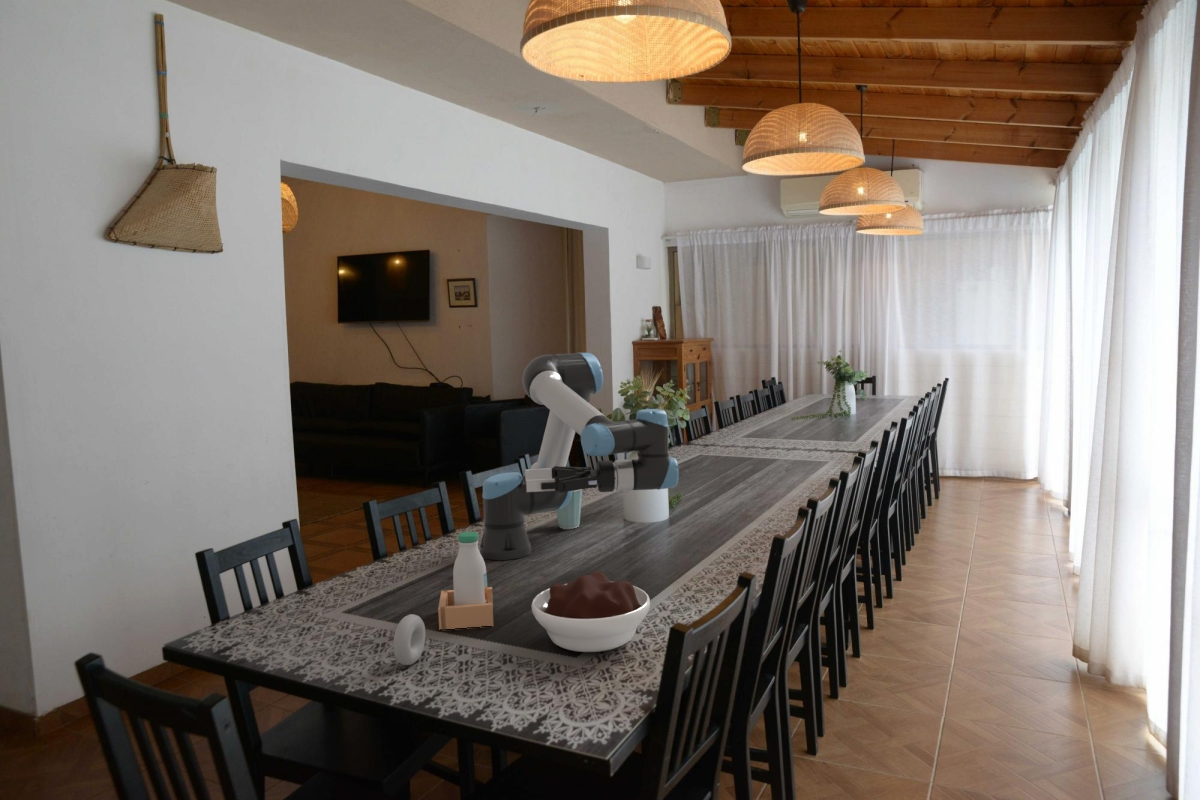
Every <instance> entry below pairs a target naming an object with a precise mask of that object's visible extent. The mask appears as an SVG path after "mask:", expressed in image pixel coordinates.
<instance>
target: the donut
mask: <svg viewBox="0 0 1200 800" xmlns="http://www.w3.org/2000/svg"><path fill="white" fill-rule="evenodd" d="M425 626H426V625H425V623H424V621H423V619H422V618H421V617H420V616H419V615H417V614H413V613H411V614H410V613H409V614H407V615H406V616H404V617H403V618H402V619H400V621H399V622H398V624H397V627H396V629H395V632H394V634H393V635H394V636H393V644H392V645H393V646H392V648H393V655H394V657H395V660H396V661H397V662H398V663H399V665H400V664H401V665H403V666H411V665H413V664H415V663H416V662H417V661H418V660H419V659H420V657H421V655H422V653H423V651H424V648H425V643H426V627H425Z"/></svg>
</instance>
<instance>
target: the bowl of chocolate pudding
mask: <svg viewBox="0 0 1200 800" xmlns="http://www.w3.org/2000/svg"><path fill="white" fill-rule="evenodd" d="M650 608H651V599H650V596H649V595H648V593H646V591H645V590H643V589H641V588H639V587H637V586H636V585H633V584H632V582H631V581H629V580H616V581H611V580H609V578H608V576H606V574H605V573H603V572H602V571H598V570H596V571H594V572H591V573H589V574H588V575H587V574H584V575H580V576H578V577H577V578H576V579H575V580H571V581H569V582H568V583H559V582H558V583H557V582H553V583H552V586H550V587H549V588H547V589H544V590H543V591H541V592H540V593H538V594H537V595H536V596H535V597H534V598H533V599H532V603H531V613H532V615H533V616H534V617H535V620H536V621H537V622H538V624H540V625H541V627H543V628H544V629H545V630H546V632H547V635H548V637H549V638H550V640H551V641H552V642H553V644H555V645H556V646H559V647H560V648H563V649H564V650H565V649H566V650H568V651H573V652H581V653H596V652H597V653H598V652H606V651H610V650H613V649H617V648H619V647H621V646H624V645H625V644H627V643H628V642H630V641H631V640H632V639H633V637H634V636H635V634H636V631H637V628H638V626H639V625H640V624H641V623H642V622H643V620H644V619H645V618H646V616H647V614H648V613H649V610H650Z"/></svg>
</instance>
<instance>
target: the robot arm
mask: <svg viewBox="0 0 1200 800" xmlns="http://www.w3.org/2000/svg"><path fill="white" fill-rule="evenodd" d="M602 369H603V368H602V366H601V363H600V362H599V359H598V358H597V357H596V355H595V354H593V353H591V352H580V351H577V352H575V353H573V352H572V353H557V354H556V353H554V354H553V353H552V354H551V353H550V354H542V355H539V356H537V357H535V358H533V359H532V360H530V362H529V363H528V364H527V365H526V367H525V368H524V370H523V374H522V381H521V382H522V387H523V391H524V392H525V393H526V395H527V396H528V397H529V398H530V399H531V400H532V401H533V402H534V403H536V404H538V405H541V406H545V407H546V408H547V409H548V410H549V414H548V418H547V421H546V426H545V430H544V433H543V437H542V441H541V445H540V449H539V454H538V458H537V461H536V462H534V463H533V464H532V465H531V466H530V469H529V468H528V469H527V468H526V469H524V471H525V472H524V475H522V474H521V472H518V471H517V472H516V471H509V472H501V473H498V474H494V475H492V476H489V477H488V478H486V479H485V480H484V481H483V484H482V495H481V496H482V506H483V522H484V523H483V524H484V529H483V534H482V538H481V541H480V544H479V552H480V554H481V556H482V558H483V559H486V560H493V561H507V560H508V561H509V560H515V559H520V558H524V557H526V556H529V555H530V554H531V553H532V546H531V542H530V540H529V536H528V533H527V530H526V528H525V523H524V522H525V521H524V519H525V518H524V517H525V516H528V515H535V514H541V513H547V512H549V513H550V512H556V510H558V509H562V508H564V507H565V506H566V505H567V504H568V503H569V501H570V499H571V496H572V491H574V490H580V489H582V490H585V489H596V488H597V490H598V492H599V493H609V492H610V493H613V492H614V491H617V492H624V494H628V493H629V491H647V490H659V491H660V490H665V489H673V488H676V487H677V485H678V483H679V479H680V478H679V477H680V475H679V474H680V473H679V472H680V471H679V464H678V461H677V459H676V458H675V457H671V456H670V455H669V422H668V421H669V418H668V414H667V412H666V411H665V410H664V409H659V408H645V409H639V410H637V412H636V417H635V418H634V419H628V420H620V421H613V420H611V419H610V418H609V417H608V416H606V415H604V414H603V412H600V411H599V410H598V409H597V408H596V407H594V406H593V405H592V404H591V403H590V400H591V396H592V394H593V395H596V394H598V393H600V392H601V390H602V388H603V385H604V374H603V370H602ZM576 433H577V434H578V435H579V436H580V442H581V447H582V448H583V450H584V452H585V454H586V455H588V456H591V457H606V456H611V455H616V454H623V453H631V452H637V458H635V459H631V458H630V459H627V458H626V459H616V460H614V462H613V460H598V461H597V462H596V469H593V468H592V466H585V467H584V466H583V467H582V466H581V467H580V466H567V464H568V460H569V456H570V452H571V449H572V446H573V441H574V439H575V435H576Z"/></svg>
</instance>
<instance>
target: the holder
mask: <svg viewBox="0 0 1200 800" xmlns="http://www.w3.org/2000/svg"><path fill="white" fill-rule="evenodd" d="M487 593H488V603H482V604H468V605H455V606H454V589H447V590H444V589H443V590H441V592H440V597H439V602H438V608H437V611H438V630H440V629H455V628H467V627H480V628H482V627H481V626H492V627H494V612H493V611H494V600H493V586H487ZM467 629H468V628H467ZM455 630H456V629H455Z"/></svg>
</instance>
